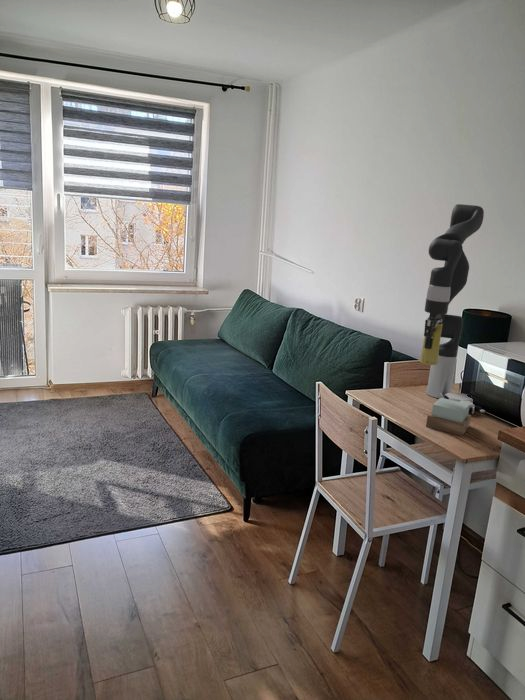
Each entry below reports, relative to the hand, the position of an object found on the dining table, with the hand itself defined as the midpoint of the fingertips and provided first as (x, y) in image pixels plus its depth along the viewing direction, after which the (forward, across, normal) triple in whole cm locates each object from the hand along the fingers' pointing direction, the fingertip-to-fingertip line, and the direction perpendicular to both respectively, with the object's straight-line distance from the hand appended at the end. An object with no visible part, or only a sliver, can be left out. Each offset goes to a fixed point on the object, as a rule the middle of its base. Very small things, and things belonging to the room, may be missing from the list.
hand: (430, 347), depth 193 cm
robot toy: (+26, +21, -10) cm, 35 cm away
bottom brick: (+26, -2, -11) cm, 28 cm away
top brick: (+22, -2, -11) cm, 24 cm away
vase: (+6, 0, 0) cm, 6 cm away
